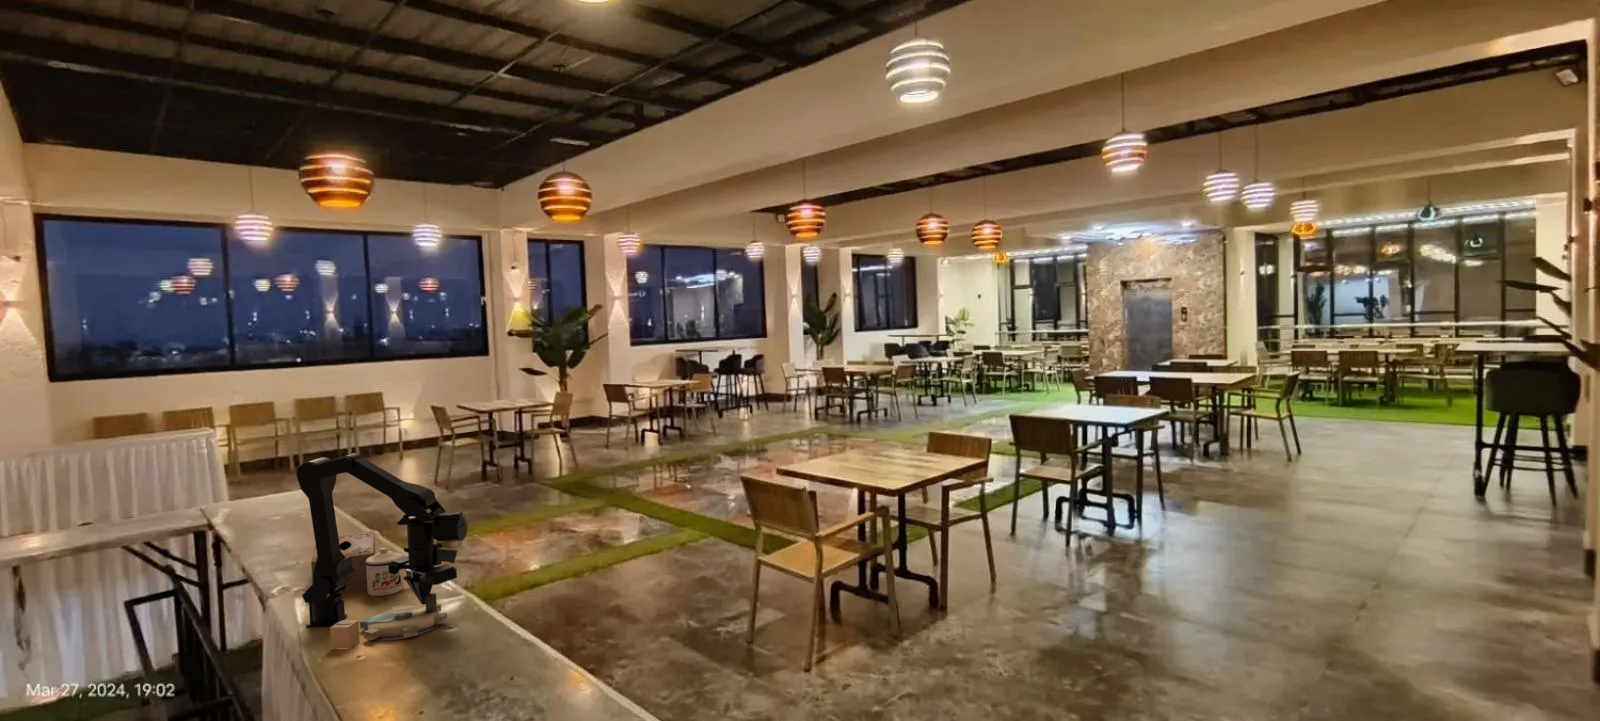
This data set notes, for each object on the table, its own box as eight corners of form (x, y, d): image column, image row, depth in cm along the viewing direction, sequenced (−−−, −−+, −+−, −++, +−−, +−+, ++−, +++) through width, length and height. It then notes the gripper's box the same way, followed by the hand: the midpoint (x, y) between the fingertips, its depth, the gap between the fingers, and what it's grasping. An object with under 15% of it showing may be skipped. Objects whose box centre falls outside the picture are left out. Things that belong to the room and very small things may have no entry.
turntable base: (350, 641, 175) (350, 639, 175) (389, 614, 191) (389, 612, 191) (421, 640, 175) (420, 638, 175) (453, 613, 191) (453, 611, 191)
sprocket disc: (357, 621, 186) (356, 598, 185) (436, 603, 196) (435, 582, 195) (367, 646, 170) (365, 621, 170) (452, 626, 181) (451, 603, 180)
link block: (331, 649, 171) (330, 626, 171) (342, 642, 175) (340, 619, 175) (349, 649, 171) (347, 626, 171) (359, 641, 175) (358, 619, 175)
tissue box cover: (375, 589, 211) (373, 553, 210) (313, 599, 204) (311, 562, 203) (375, 563, 233) (374, 531, 233) (319, 572, 227) (317, 538, 226)
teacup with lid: (369, 599, 202) (367, 555, 201) (364, 590, 209) (361, 547, 209) (419, 589, 209) (417, 546, 209) (412, 580, 216) (410, 539, 216)
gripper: (474, 537, 189) (478, 599, 190) (427, 527, 198) (430, 586, 200) (433, 550, 179) (437, 616, 181) (385, 539, 189) (389, 601, 190)
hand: (424, 604), depth 188 cm, fingers closed
